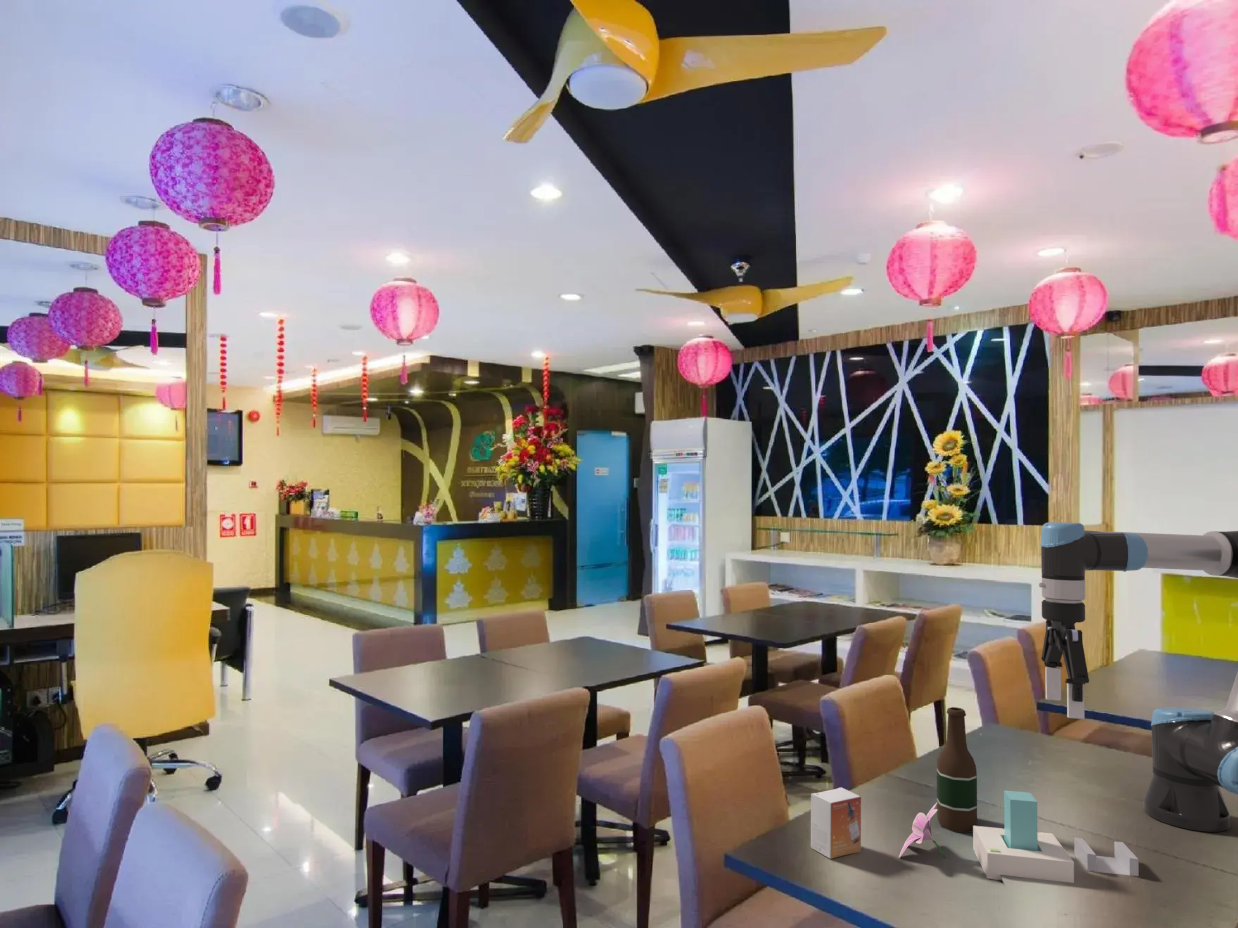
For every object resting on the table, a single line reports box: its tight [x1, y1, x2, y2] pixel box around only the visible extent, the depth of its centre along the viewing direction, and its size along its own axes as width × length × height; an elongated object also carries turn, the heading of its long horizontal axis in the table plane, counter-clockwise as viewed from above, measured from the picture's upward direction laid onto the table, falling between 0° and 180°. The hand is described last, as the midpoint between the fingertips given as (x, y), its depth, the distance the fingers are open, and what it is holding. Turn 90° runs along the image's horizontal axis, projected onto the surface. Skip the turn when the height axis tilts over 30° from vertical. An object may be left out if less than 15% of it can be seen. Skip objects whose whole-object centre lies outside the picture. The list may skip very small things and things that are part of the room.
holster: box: [1073, 836, 1140, 877], centre depth 144 cm, size 8×7×4 cm
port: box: [972, 825, 1075, 884], centre depth 144 cm, size 14×12×5 cm
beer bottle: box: [936, 706, 978, 834], centre depth 163 cm, size 8×8×24 cm
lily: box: [898, 801, 946, 859], centre depth 149 cm, size 12×12×10 cm
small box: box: [810, 786, 862, 859], centre depth 151 cm, size 8×6×10 cm
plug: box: [1003, 790, 1039, 851], centre depth 145 cm, size 4×4×12 cm
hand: (1064, 708), depth 155 cm, fingers open, 13 cm apart
